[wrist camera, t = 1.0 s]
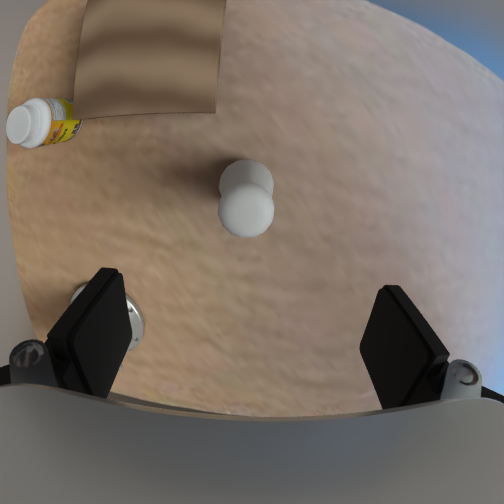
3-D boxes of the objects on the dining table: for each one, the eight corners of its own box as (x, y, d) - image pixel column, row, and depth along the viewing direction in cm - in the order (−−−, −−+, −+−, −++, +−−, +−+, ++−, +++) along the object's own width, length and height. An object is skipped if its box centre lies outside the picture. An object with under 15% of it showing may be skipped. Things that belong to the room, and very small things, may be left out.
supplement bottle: (57, 147, 30) (7, 160, 21) (48, 110, 28) (-4, 114, 19) (89, 130, 30) (40, 137, 21) (79, 91, 28) (30, 87, 18)
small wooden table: (219, 115, 30) (213, 112, 25) (97, 119, 29) (72, 120, 24) (230, -1, 24) (227, -23, 18) (110, 10, 23) (88, -5, 18)
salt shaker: (267, 209, 35) (277, 256, 23) (218, 203, 34) (203, 246, 22) (275, 160, 32) (292, 181, 20) (224, 153, 32) (210, 170, 20)
